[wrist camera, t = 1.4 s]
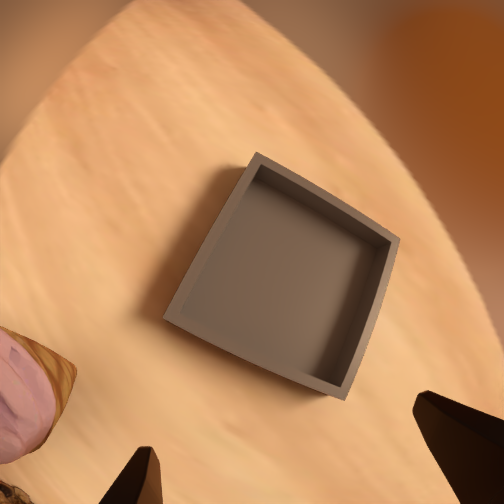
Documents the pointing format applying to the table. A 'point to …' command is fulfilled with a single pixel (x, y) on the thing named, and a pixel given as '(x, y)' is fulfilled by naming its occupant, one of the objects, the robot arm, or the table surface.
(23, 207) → the table surface
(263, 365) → the tray
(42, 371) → the ice cream cone
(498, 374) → the table surface
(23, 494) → the bread roll
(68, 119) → the table surface
